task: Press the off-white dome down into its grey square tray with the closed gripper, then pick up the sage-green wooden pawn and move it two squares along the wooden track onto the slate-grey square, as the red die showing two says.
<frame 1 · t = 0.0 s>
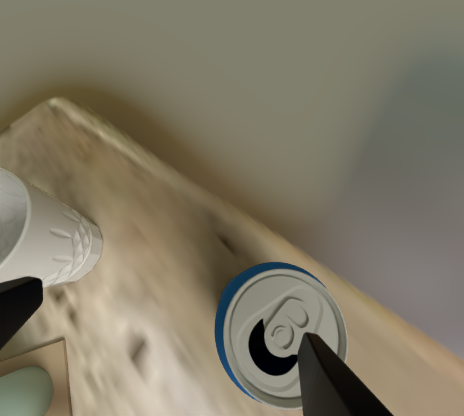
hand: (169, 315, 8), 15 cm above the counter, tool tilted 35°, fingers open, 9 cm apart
white cup: (69, 249, 23), on the counter
beverage can: (253, 307, 22), on the counter
pawn: (24, 397, 19), resting on game track
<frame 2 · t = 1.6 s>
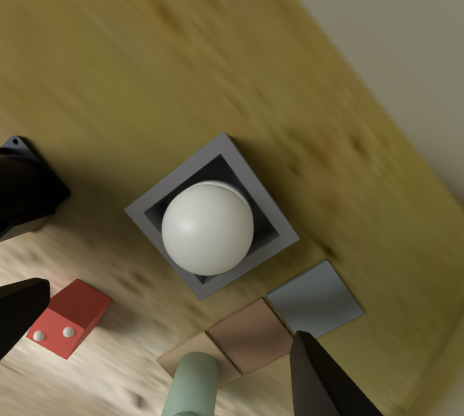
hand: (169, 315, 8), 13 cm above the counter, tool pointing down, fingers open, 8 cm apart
red die: (86, 303, 24), on the counter
pawn: (198, 368, 24), resting on game track
game track: (253, 336, 23), on the counter
dome: (208, 228, 15), point 5 cm above the counter, slide at 0.0 cm
grey square tray: (218, 210, 20), on the counter
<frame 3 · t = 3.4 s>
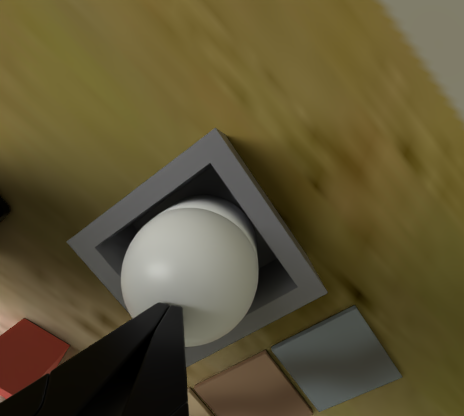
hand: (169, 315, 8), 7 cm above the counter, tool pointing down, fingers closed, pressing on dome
red die: (37, 348, 18), on the counter
game track: (253, 397, 18), on the counter
dome: (193, 270, 11), point 4 cm above the counter, slide at 0.6 cm, touching gripper
grey square tray: (209, 236, 15), on the counter
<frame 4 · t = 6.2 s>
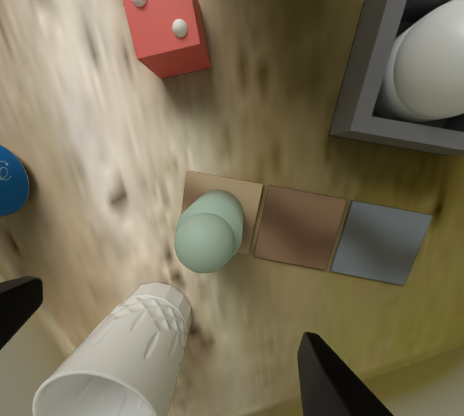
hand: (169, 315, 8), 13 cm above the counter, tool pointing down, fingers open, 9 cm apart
white cup: (160, 309, 23), on the counter
red die: (179, 44, 17), on the counter
beverage can: (5, 178, 21), on the counter
pawn: (218, 214, 20), resting on game track
game track: (297, 228, 20), on the counter
dome: (448, 63, 13), point 4 cm above the counter, slide at 1.3 cm
grey square tray: (406, 82, 17), on the counter
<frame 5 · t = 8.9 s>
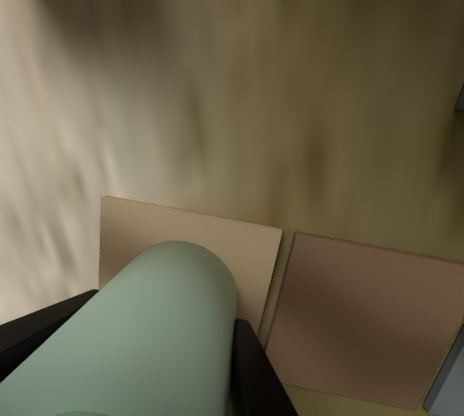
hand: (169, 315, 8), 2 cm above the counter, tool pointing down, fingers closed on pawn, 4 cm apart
pawn: (180, 293, 9), resting on game track, touching gripper
game track: (357, 324, 9), on the counter
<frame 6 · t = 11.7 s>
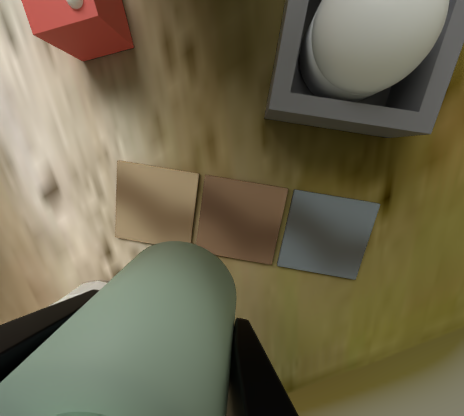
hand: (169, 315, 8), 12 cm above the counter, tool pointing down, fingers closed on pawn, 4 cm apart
white cup: (105, 309, 22), on the counter
red die: (99, 23, 16), on the counter
pawn: (179, 294, 9), point 10 cm above the counter, touching gripper
game track: (239, 220, 19), on the counter
dome: (370, 31, 12), point 4 cm above the counter, slide at 1.3 cm
grey square tray: (342, 58, 16), on the counter
when the fingers open (3 cm above the counter, at t = 14.5 s): pawn drops 1 cm, resting on game track.
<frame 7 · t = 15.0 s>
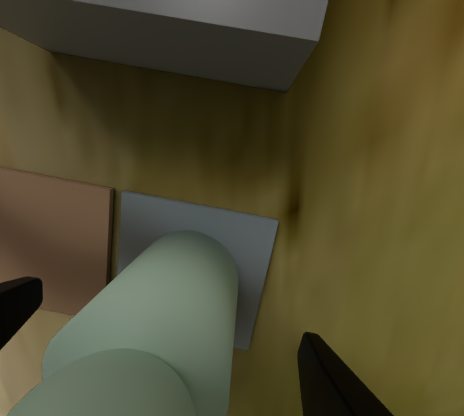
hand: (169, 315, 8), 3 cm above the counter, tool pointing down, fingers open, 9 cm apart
pawn: (188, 277, 10), resting on game track
game track: (42, 244, 11), on the counter
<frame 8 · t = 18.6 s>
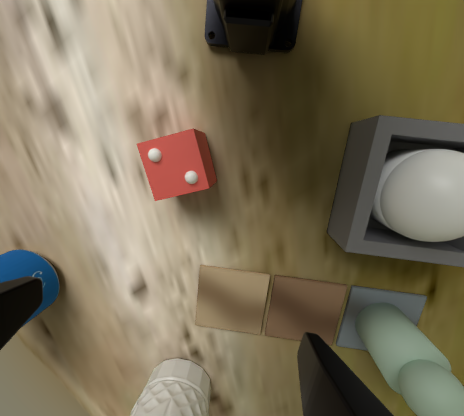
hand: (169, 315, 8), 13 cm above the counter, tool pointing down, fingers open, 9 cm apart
white cup: (181, 380, 25), on the counter
red die: (188, 163, 19), on the counter
beverage can: (36, 274, 23), on the counter
pawn: (379, 323, 21), resting on game track
game track: (303, 309, 22), on the counter
dome: (428, 195, 15), point 4 cm above the counter, slide at 1.3 cm
grey square tray: (394, 187, 19), on the counter
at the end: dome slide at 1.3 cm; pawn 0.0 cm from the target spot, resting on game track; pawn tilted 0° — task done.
